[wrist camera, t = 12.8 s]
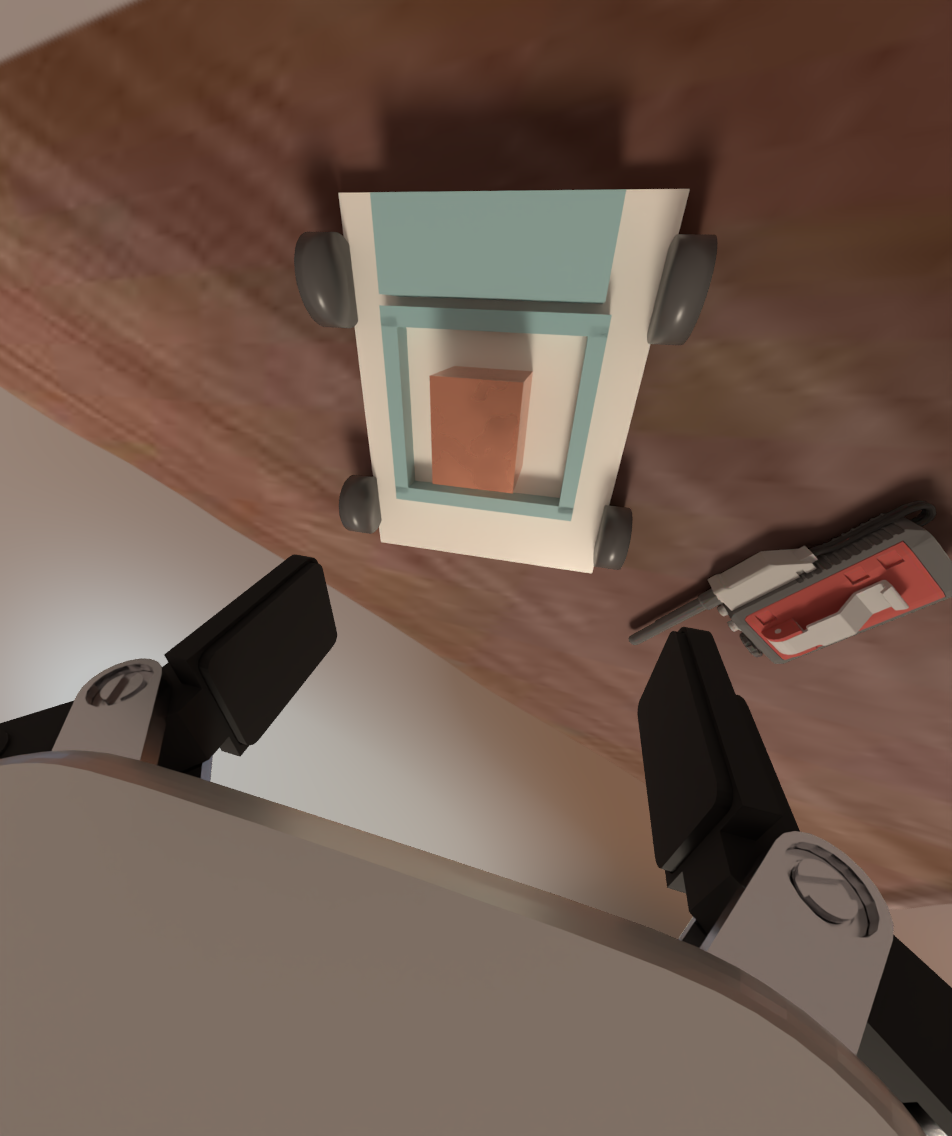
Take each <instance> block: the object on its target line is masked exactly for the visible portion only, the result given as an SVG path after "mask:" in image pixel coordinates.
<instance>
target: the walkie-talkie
mask: <svg viewBox="0 0 952 1136" xmlns="http://www.w3.org/2000/svg"><path fill="white" fill-rule="evenodd" d="M918 510H922V512H921V513H920V514H919V515H918V516H917V517H915V518H913V519H911V520H909V519H907V518H905V517H904V516H906V515H908V514H910V513H912V512H915V511H918ZM935 515H936V509H935V506H933V505H932V504H929V503H927V502H926V501H914V502H911V503H907V504H904V505H902V506H900V507H898V508H896V509H894V510H892V511H890V512H888V513H881V514H880V515H879V516H877V517H876V518H871V519H869V520H870V521H868V522H866V523H862V524H860V526H858V527H856V528H855V529H854V528H852V529H850V531H849V532H847V533H845V534H844V533H842V534H841V536H839V537H837V538H833V539H831V540H832V541H830V542H828V543H823V545H819V546H815V547H813V548H810V549H808V548H807V547H806V546H803V547H801V548H799V549H787V550H773V551H761V552H759V553H757V554H755V555H754V556H752V557H750V558H748V559H746V560H745V561H743V562H741V563H739V564H737V565H736V566H734V567H732V568H730V569H728V570H727V571H725V572H723V573H721V574H716V575H714V576H712V577H711V578H709V579H708V582H709V584H710V586H711V589H709V590H708V591H706V592H704V593H702V594H700V595H698V598H697V599H695V600H693V601H691V602H689V603H687V604H686V605H684V606H682V607H680V608H678V609H676V610H674V611H673V612H671V613H669V614H667V615H665V616H663V617H661V618H660V619H658V620H656V621H655V622H654V623H653V624H651V625H649V626H647V627H646V628H644V629H642V630H640V631H638V632H637V633H635V634H633V635H631V636H630V637H629V642H630V643H631V644H633V645H638V644H640V643H642V642H644V641H646V640H648V639H650V638H652V637H653V636H655V635H657V634H659V633H661V632H663V631H665V630H667V629H669V628H671V627H673V626H675V625H677V624H679V623H680V622H682V621H684V620H686V619H688V618H690V617H692V616H694V615H696V614H698V613H700V612H702V611H704V610H706V609H708V610H710V609H712V608H714V607H716V606H718V605H720V604H721V606H719V607H717V610H718V611H719V613H720V614H721V615H722V616H726V615H729V616H730V618H731V621H729V622H727V624H728V626H729V627H730V628H731V630H732V631H736V630H740V631H742V632H743V633H741V634H740V638H741V640H742V642H743V644H744V645H745V646H746V648H747V649H748V650H749V652H750V653H751V654H752V655H753V656H755V657H760V656H762V654H763V653H764V654H765V655H766V656H767V657H768V658H769V659H770V660H771V661H772V662H773V663H775V664H783V663H786V662H789V661H791V660H794V659H796V658H799V657H801V656H804V655H806V654H809V653H811V652H814V651H817V650H819V649H822V648H824V647H827V646H829V645H832V644H834V643H837V642H839V641H842V640H845V639H847V638H848V637H851V636H855V635H857V634H858V633H861V632H865V631H866V630H869V629H871V628H875V627H876V626H879V625H883V624H885V623H886V622H889V621H893V620H895V619H897V618H899V617H903V616H905V615H907V614H909V613H913V612H915V611H917V610H919V609H923V608H925V607H927V606H930V605H934V604H936V603H937V602H940V601H942V600H943V601H944V600H946V599H947V598H950V597H952V561H951V560H950V558H949V557H948V556H947V554H946V553H945V552H944V550H943V549H942V547H941V546H940V545H939V543H938V542H937V541H936V539H935V538H934V537H933V536H932V535H931V534H930V533H929V532H928V531H927V530H925V529H924V528H922V526H924V525H926V524H927V523H929V522H930V521H932V520H933V519H934V517H935ZM762 652H763V653H762Z"/></svg>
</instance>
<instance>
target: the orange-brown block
mask: <svg viewBox="0 0 952 1136" xmlns="http://www.w3.org/2000/svg"><path fill="white" fill-rule="evenodd" d="M532 375H533V371H519V370H505V369H490V368H476V367H461V366H453V367H451V368H448V369H445V370H443V371H440V372H438V373H435V374H432V375H430V376H429V377H430V412H431V448H432V483H433V484H438V485H447V486H455V487H463V488H471V489H479V490H488V491H496V492H504V493H512V494H513V491H514V488H515V486H516V483H517V480H518V477H519V475H520V472H521V469H522V466H523V457H524V448H525V439H526V429H527V420H528V411H529V402H530V393H531V384H532Z"/></svg>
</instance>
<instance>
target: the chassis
mask: <svg viewBox="0 0 952 1136" xmlns="http://www.w3.org/2000/svg"><path fill="white" fill-rule="evenodd" d="M689 191H690V189H631V190H626V189H620V190H532V191H444V192H366V193H338V194H339V203H340V211H341V219H342V227H343V235H344V237H343V236H342V235H341V234H339V233H338V232H305V233H303V234H302V235H301V236H300V237H299V239H298V241H297V244H296V248H295V257H294V266H295V275H296V281H297V285H298V289H299V292H300V295H301V298H302V301H303V303H304V305H305V307H306V309H307V311H308V313H309V314H310V316H311V317H312V318H313V320H314V321H315V322H316V323H318V324H319V325H321V326H323V327H338V328H352V327H354V326H355V333H356V341H357V350H358V358H359V366H360V374H361V382H362V390H363V399H364V407H365V415H366V423H367V431H368V440H369V448H370V456H371V464H372V472H373V477H368V476H360V475H352V476H350V477H349V478H348V479H347V480H346V481H345V483H344V485H343V487H342V490H341V493H340V499H339V513H340V518H341V521H342V524H343V525H344V527H345V528H346V529H347V530H349V531H356V532H362V533H369V534H370V533H373V532H375V531H376V530H377V529H378V527H379V529H380V538H381V542H385V543H392V544H398V545H405V546H412V547H418V548H425V549H432V550H438V551H445V552H452V553H458V554H465V555H472V556H479V557H485V558H492V559H499V560H505V561H512V562H519V563H525V564H532V565H539V566H545V567H552V568H559V569H565V570H572V571H579V572H585V573H592V571H593V567H594V566H595V567H601V568H608V569H615V570H620V569H621V567H622V565H623V563H624V561H625V558H626V555H627V552H628V548H629V544H630V538H631V532H632V511H631V509H630V508H626V507H617V506H609V504H610V500H611V497H612V493H613V489H614V485H615V481H616V477H617V473H618V469H619V465H620V461H621V457H622V453H623V449H624V446H625V442H626V438H627V434H628V430H629V426H630V422H631V418H632V414H633V410H634V406H635V402H636V398H637V395H638V391H639V387H640V383H641V379H642V375H643V371H644V367H645V363H646V359H647V355H648V351H649V347H650V344H665V345H683V344H684V343H685V342H686V340H687V339H688V337H689V336H690V334H691V332H692V330H693V328H694V326H695V324H696V322H697V320H698V317H699V315H700V312H701V310H702V307H703V304H704V301H705V298H706V295H707V292H708V289H709V286H710V282H711V278H712V274H713V270H714V265H715V260H716V254H717V237H716V235H691V234H679V230H680V226H681V222H682V218H683V214H684V210H685V206H686V202H687V198H688V194H689ZM453 366H461V367H476V368H490V369H505V370H519V371H533V375H532V384H531V393H530V402H529V411H528V420H527V429H526V439H525V448H524V457H523V466H522V469H521V472H520V475H519V477H518V480H517V483H516V486H515V488H514V491H513V494H512V493H504V492H496V491H488V490H479V489H471V488H463V487H455V486H447V485H438V484H433V483H432V448H431V412H430V377H429V376H430V375H432V374H435V373H438V372H440V371H443V370H445V369H448V368H451V367H453Z"/></svg>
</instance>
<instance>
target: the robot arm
mask: <svg viewBox="0 0 952 1136" xmlns="http://www.w3.org/2000/svg"><path fill="white" fill-rule="evenodd" d="M336 638H337V631H336V627H335V622H334V618H333V613H332V609H331V605H330V599H329V595H328V591H327V586H326V582H325V577H324V573H323V568H322V566H321V565H320V564H318V562H317V560H316V559H315V558H312V557H307V556H301V555H292V556H290V557H289V558H287V559H286V560H285V561H284V562H283V563H281V564H280V565H279V566H277V567H276V568H275V569H273V570H272V571H271V572H270V573H268V574H267V575H266V576H264V577H263V578H262V579H261V580H259V581H258V582H257V583H255V584H254V585H253V586H252V587H250V588H249V589H248V590H247V591H245V592H244V593H243V594H241V595H240V596H239V597H237V598H236V599H235V600H234V601H232V602H231V603H230V604H229V605H227V606H226V607H225V608H223V609H222V610H221V611H220V612H218V613H217V614H216V615H214V616H213V617H212V618H211V619H209V620H208V621H207V622H205V623H204V624H203V625H202V626H200V627H199V628H198V629H196V630H195V631H194V632H193V633H192V634H190V635H189V636H188V637H186V638H185V639H184V640H183V641H181V642H180V643H179V644H177V645H176V646H175V647H174V648H172V649H171V650H170V651H168V652H167V653H166V654H165V657H166V658H167V660H168V663H167V664H166V665H165V666H163V667H161V665H160V664H159V663H158V662H157V661H155V660H152V659H135V660H130V661H126V662H123V663H120V664H117V665H114V666H112V667H110V668H108V669H106V670H104V671H103V672H101V673H99V674H98V675H96V676H95V677H93V678H92V679H91V680H90V681H88V682H87V683H86V684H85V685H84V686H83V687H82V689H81V690H80V691H79V693H78V694H77V696H76V698H75V700H74V701H71V702H68V703H65V704H61V705H58V706H55V707H52V708H48V709H45V710H42V711H39V712H36V713H32V714H29V715H26V716H23V717H20V718H16V719H13V720H10V721H7V722H3V723H0V1136H952V988H951V987H950V986H949V985H948V984H947V983H946V982H945V981H944V980H942V979H941V978H940V977H939V976H938V975H937V974H936V973H935V972H934V971H933V970H931V969H930V968H929V967H928V966H927V965H926V964H925V963H924V962H923V961H922V960H921V959H920V958H918V957H917V956H916V955H915V954H914V953H913V952H912V951H911V950H910V949H909V948H907V947H906V946H905V945H904V944H903V943H902V942H901V941H899V939H897V938H896V937H895V936H894V935H893V926H894V925H893V922H892V918H891V916H890V912H889V909H888V906H887V904H886V903H885V901H884V899H883V897H882V896H881V894H880V892H879V890H878V889H877V887H876V886H875V885H874V883H873V882H872V881H871V880H870V878H869V877H868V876H867V875H866V874H865V872H864V871H863V870H862V869H861V868H860V867H859V866H858V865H857V864H856V863H855V862H854V861H853V860H851V859H850V858H849V857H848V856H847V855H846V854H845V853H844V852H842V851H841V850H839V849H838V848H836V847H835V846H833V845H832V844H830V843H829V842H827V841H825V840H823V839H821V838H819V837H816V836H814V835H812V834H809V833H803V832H800V831H799V828H798V826H797V823H796V821H795V818H794V816H793V814H792V811H791V809H790V806H789V804H788V802H787V799H786V797H785V794H784V792H783V789H782V787H781V785H780V782H779V780H778V777H777V775H776V773H775V770H774V768H773V765H772V763H771V760H770V758H769V756H768V753H767V751H766V748H765V746H764V744H763V741H762V739H761V736H760V734H759V731H758V729H757V727H756V724H755V722H754V719H753V717H752V715H751V712H750V710H749V707H748V705H747V703H746V702H745V700H744V699H743V698H742V697H741V696H739V695H736V694H735V692H734V689H733V687H732V684H731V682H730V679H729V677H728V674H727V671H726V669H725V666H724V664H723V661H722V659H721V656H720V654H719V651H718V649H717V646H716V643H715V641H714V638H713V636H712V634H711V633H710V632H709V631H704V630H698V629H693V628H687V627H682V628H680V630H679V631H678V632H676V631H672V632H671V633H670V635H669V637H668V639H667V641H666V643H665V645H664V648H663V650H662V652H661V654H660V657H659V659H658V661H657V663H656V665H655V668H654V670H653V672H652V674H651V677H650V679H649V681H648V683H647V685H646V688H645V690H644V692H643V694H642V697H641V699H640V701H639V705H638V722H639V730H640V738H641V747H642V755H643V763H644V771H645V779H646V787H647V795H648V803H649V811H650V820H651V827H652V835H653V844H654V852H655V859H656V863H657V865H658V867H659V868H661V869H664V870H665V874H666V881H667V888H670V889H674V890H677V891H680V892H683V893H686V895H687V901H688V906H689V912H690V913H691V914H692V916H693V918H692V919H691V921H690V922H689V924H688V925H687V927H686V928H685V930H684V931H683V933H682V934H681V935H680V937H679V938H678V939H676V938H673V937H671V936H669V935H666V934H664V933H661V932H659V931H656V930H654V929H652V928H649V927H646V926H643V925H641V924H638V923H635V922H632V921H629V920H626V919H624V918H621V917H618V916H615V915H612V914H609V913H607V912H604V911H601V910H598V909H595V908H592V907H589V906H587V905H584V904H581V903H578V902H575V901H572V900H570V899H566V898H564V897H561V896H558V895H555V894H552V893H549V892H546V891H543V890H540V889H537V888H534V887H531V886H528V885H525V884H522V883H519V882H516V881H513V880H510V879H507V878H504V877H501V876H498V875H495V874H492V873H489V872H486V871H483V870H480V869H477V868H474V867H471V866H468V865H465V864H462V863H459V862H456V861H453V860H450V859H447V858H444V857H441V856H438V855H435V854H432V853H428V852H426V851H423V850H420V849H416V848H413V847H410V846H407V845H404V844H401V843H398V842H395V841H392V840H389V839H386V838H383V837H380V836H377V835H374V834H370V833H368V832H364V831H361V830H358V829H355V828H352V827H349V826H346V825H343V824H340V823H337V822H334V821H331V820H327V819H325V818H322V817H318V816H315V815H312V814H309V813H306V812H303V811H300V810H297V809H294V808H291V807H288V806H285V805H281V804H278V803H275V802H272V801H269V800H266V799H263V798H260V797H256V796H253V795H250V794H247V793H244V792H241V791H238V790H234V789H231V788H228V787H225V786H222V785H219V784H216V783H213V782H210V780H211V769H212V757H213V754H214V753H215V752H216V751H217V750H218V748H219V747H220V748H221V750H222V751H224V752H228V753H231V754H234V755H237V756H241V755H242V754H243V752H244V751H245V750H246V749H247V747H248V746H249V745H253V744H254V743H256V742H257V741H258V740H259V739H260V738H261V736H262V735H263V734H264V733H265V731H266V730H267V729H268V727H269V726H270V725H271V724H272V722H273V721H274V720H275V719H276V717H277V716H278V715H279V714H280V712H281V711H282V710H283V709H284V707H285V706H286V705H287V704H288V702H289V701H290V700H291V698H292V697H293V696H294V695H295V693H296V692H297V691H298V690H299V688H300V687H301V686H302V685H303V683H304V682H305V681H306V679H307V678H308V677H309V676H310V675H311V673H312V672H313V671H314V669H315V668H316V667H317V666H318V664H319V663H320V662H321V661H322V659H323V658H324V657H325V656H326V654H327V653H328V652H329V651H330V649H331V648H332V647H333V645H334V644H335V642H336Z"/></svg>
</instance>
